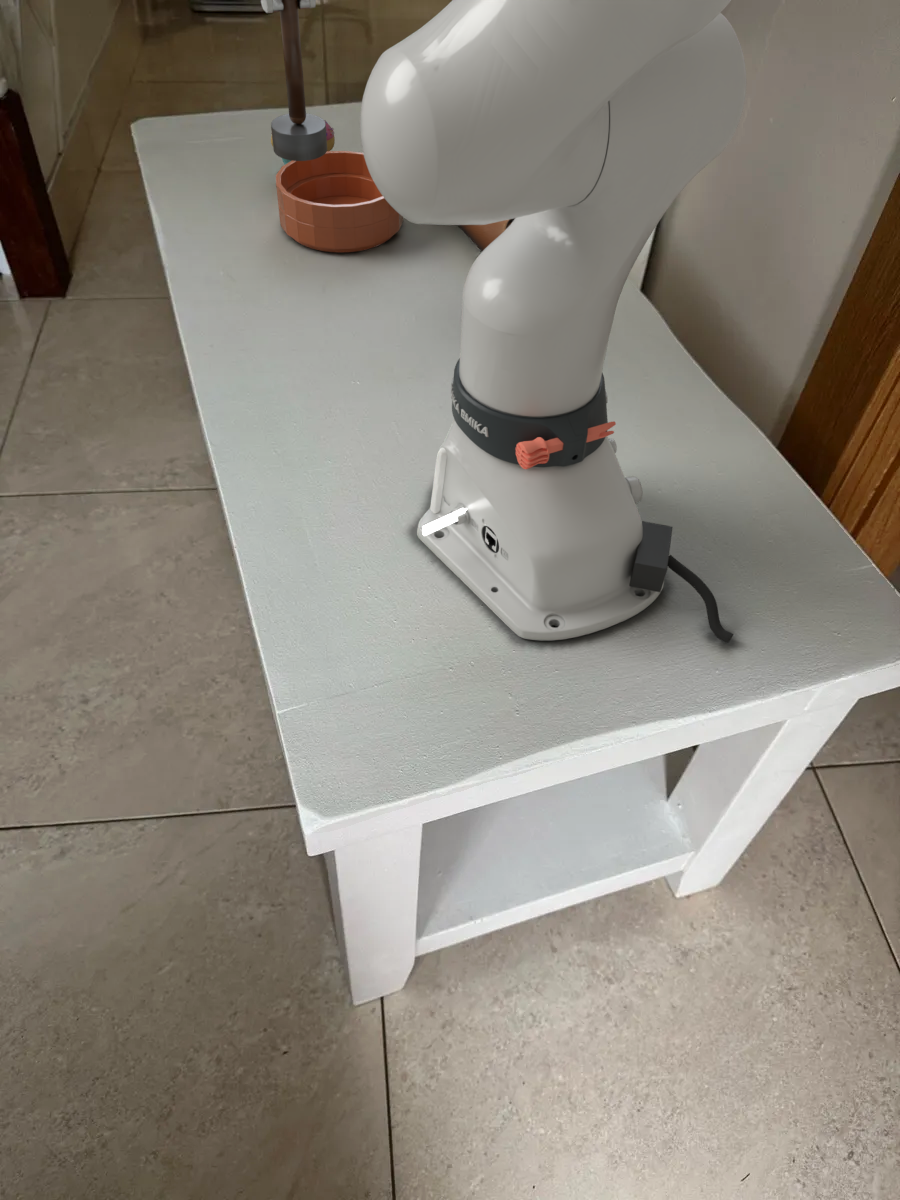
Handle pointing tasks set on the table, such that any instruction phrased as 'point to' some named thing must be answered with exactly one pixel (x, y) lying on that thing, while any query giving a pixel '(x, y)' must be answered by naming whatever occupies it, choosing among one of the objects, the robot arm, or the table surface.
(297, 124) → the rod on grey base
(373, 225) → the bowl
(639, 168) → the robot arm
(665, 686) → the table surface
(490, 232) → the sunglasses case
